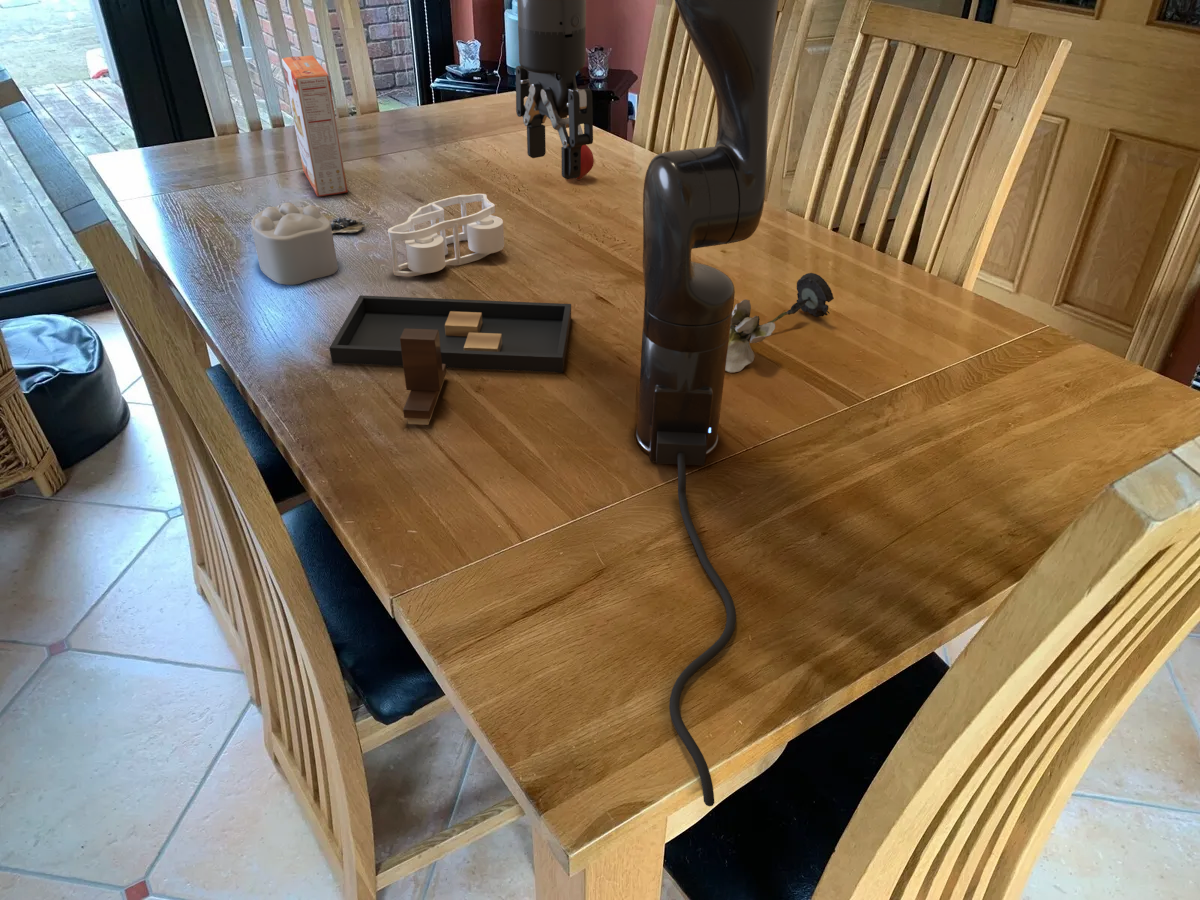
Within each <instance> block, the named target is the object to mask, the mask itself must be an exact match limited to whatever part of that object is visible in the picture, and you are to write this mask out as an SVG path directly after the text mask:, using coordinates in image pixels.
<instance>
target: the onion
mask: <svg viewBox="0 0 1200 900" xmlns="http://www.w3.org/2000/svg"><path fill="white" fill-rule="evenodd" d="M593 154H594V153H593V151H592V149H591V148H590V147H589V146H588V144H587V145H583V146H582V147H581V174H580V176H579V177H578V178H575V179H576V180H577V181H578V180H579V181H580V180H582V179H583V178H584V177H585V176H586V175H588V174H589V173H590V172H591V171H592V169H593V167H594V163H595V160H594V159H595V158H594V155H593Z"/></svg>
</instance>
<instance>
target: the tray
mask: <svg viewBox="0 0 1200 900" xmlns="http://www.w3.org/2000/svg"><path fill="white" fill-rule="evenodd" d="M450 311H454V312H479V313H482V326H481V329H480V332H479V333H495V334H502V346H501V350H500V352H493V351H469V350H464V345H465V342H466V339H467V336H446V334H445V323H446V321H447V318H448V316H449V313H450ZM571 322H572V304H571V303H557V302H532V301H507V300H485V299H482V300H481V299H461V298H460V299H457V298H437V297H436V298H435V297H434V298H433V297H410V296H387V295H386V296H383V295H363V294H362V295H359V296H358V298H357V299H356V301H355V303H354V304H353V306H352V308H351V309H350V311H349V313H348V315H347V317H346V318H345V320H344V322H342V323H343V324H342V325H341V327H340V329H339V331H338V332H337V334H336V335H335V337H334V339H333V341H332V342H331V344H330V345H329V347H328V348H329V353H330V359H331V363H332V364H347V365H349V364H350V365H373V366H391V367H393V366H394V367H395V366H396V367H403V359H402V352H401V344H400V337H401V335H402V333H403V331H404V329H405V328H407V329H431V330H439V339H440V349H441V359H442V364H446V369H465V370H486V371H490V370H491V371H509V372H510V371H511V372H535V373H559V374H563V373H564V368H565V361H566V356H567V348H568V341H569V336H570V329H571Z"/></svg>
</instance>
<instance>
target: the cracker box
mask: <svg viewBox="0 0 1200 900" xmlns="http://www.w3.org/2000/svg"><path fill="white" fill-rule="evenodd" d="M281 64H282V68H283V73H284V77H285V83H286V87H287V93H288V97H289V104H290V109H291V114H292V119H293V124H294V129H295V134H296V140H297V145H298V152H299V155H300V160H301V161H300V162H301V166H302V170H303V173H304V174H305V177H306V178H307V180H308V182H309V184H310V185H311V187H312V189H313V191H314V193H315V195H316V196H317V197H318V198H320V197H328V196H334V195H341V194H347V193H349V191H348V184H347V178H346V172H345V167H344V161H343V155H342V149H341V142H340V136H339V135H340V134H339V128H338V124H337V117H336V111H335V104H334V97H333V92H332V86H331V80H330V75H329V73H328V72H327V71H326V70H325V69H324V67H323V66H322V65H321V64H320V62H319V61H318V60H317V58H315V56H314V55H313V54H312V55H303V56H301V55H299V56H286V57H282V58H281Z"/></svg>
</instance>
